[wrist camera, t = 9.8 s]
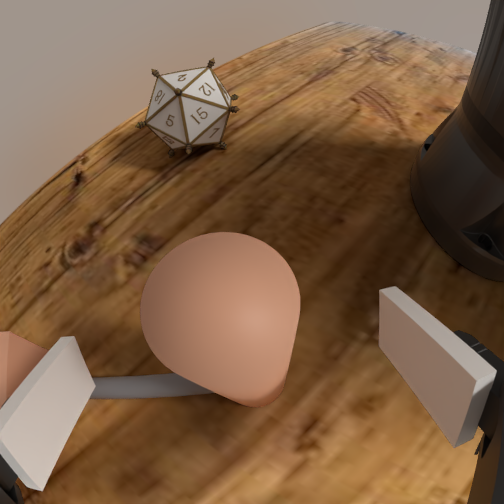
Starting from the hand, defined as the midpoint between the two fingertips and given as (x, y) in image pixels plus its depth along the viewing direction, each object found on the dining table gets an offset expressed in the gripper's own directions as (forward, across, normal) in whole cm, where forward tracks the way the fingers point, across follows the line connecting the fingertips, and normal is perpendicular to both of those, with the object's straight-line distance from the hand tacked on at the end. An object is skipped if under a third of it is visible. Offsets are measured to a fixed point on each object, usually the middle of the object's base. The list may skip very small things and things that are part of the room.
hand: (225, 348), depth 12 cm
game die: (+20, -1, +10) cm, 22 cm away
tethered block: (+5, -8, -5) cm, 10 cm away
